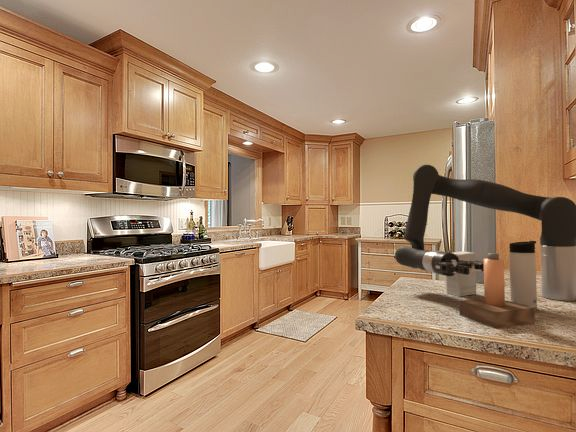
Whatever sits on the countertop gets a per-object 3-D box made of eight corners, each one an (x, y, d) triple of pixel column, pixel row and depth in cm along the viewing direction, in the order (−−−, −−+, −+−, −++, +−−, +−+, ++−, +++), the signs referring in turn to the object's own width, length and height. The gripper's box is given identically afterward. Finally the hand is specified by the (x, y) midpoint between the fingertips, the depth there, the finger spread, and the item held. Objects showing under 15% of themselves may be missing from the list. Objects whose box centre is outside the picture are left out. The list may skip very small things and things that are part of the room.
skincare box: (463, 291, 119) (462, 250, 120) (477, 294, 114) (476, 252, 114) (445, 293, 117) (444, 252, 117) (459, 297, 111) (458, 253, 111)
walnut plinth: (494, 310, 94) (493, 297, 94) (534, 323, 82) (534, 307, 83) (459, 314, 91) (459, 300, 91) (496, 328, 80) (496, 312, 80)
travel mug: (543, 312, 92) (541, 241, 92) (517, 311, 93) (515, 241, 93) (531, 306, 98) (529, 240, 98) (507, 305, 99) (505, 240, 100)
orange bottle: (494, 301, 90) (492, 252, 90) (509, 305, 85) (507, 254, 85) (480, 302, 89) (479, 253, 89) (495, 306, 84) (493, 254, 84)
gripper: (421, 252, 105) (459, 258, 89) (458, 250, 109) (501, 255, 93) (421, 275, 105) (460, 285, 89) (458, 272, 108) (501, 281, 93)
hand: (481, 270), depth 91 cm, fingers open, 8 cm apart
